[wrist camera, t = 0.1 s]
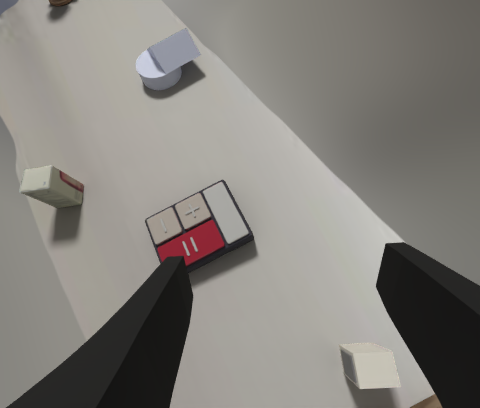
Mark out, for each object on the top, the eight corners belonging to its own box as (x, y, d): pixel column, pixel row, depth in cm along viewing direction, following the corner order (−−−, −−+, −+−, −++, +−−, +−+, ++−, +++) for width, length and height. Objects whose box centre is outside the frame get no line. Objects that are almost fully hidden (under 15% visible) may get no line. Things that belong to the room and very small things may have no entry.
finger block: (378, 372, 34) (401, 387, 29) (342, 374, 35) (358, 389, 29) (371, 342, 36) (392, 351, 30) (337, 344, 36) (351, 353, 30)
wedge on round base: (184, 46, 59) (136, 72, 58) (175, 16, 53) (120, 44, 51) (204, 68, 56) (153, 96, 55) (197, 39, 50) (139, 71, 48)
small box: (84, 184, 48) (52, 164, 41) (82, 205, 47) (48, 188, 40) (59, 187, 49) (22, 168, 41) (56, 208, 47) (17, 192, 40)
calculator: (141, 218, 41) (222, 176, 42) (153, 224, 46) (227, 186, 46) (164, 280, 38) (253, 233, 38) (175, 281, 42) (255, 239, 42)
